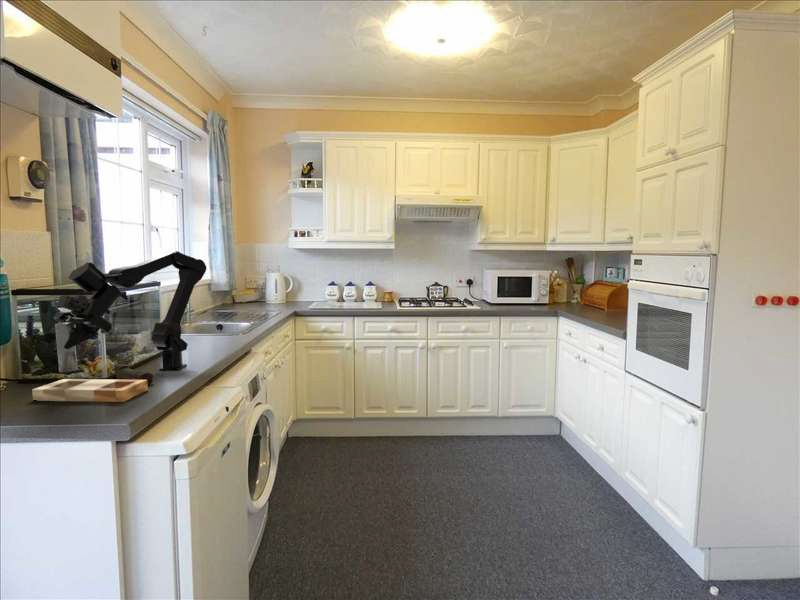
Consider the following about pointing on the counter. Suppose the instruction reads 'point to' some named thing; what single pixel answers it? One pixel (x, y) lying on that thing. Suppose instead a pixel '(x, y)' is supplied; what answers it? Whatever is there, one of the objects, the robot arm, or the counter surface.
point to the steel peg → (65, 356)
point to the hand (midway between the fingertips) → (60, 347)
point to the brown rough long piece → (131, 373)
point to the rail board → (90, 390)
